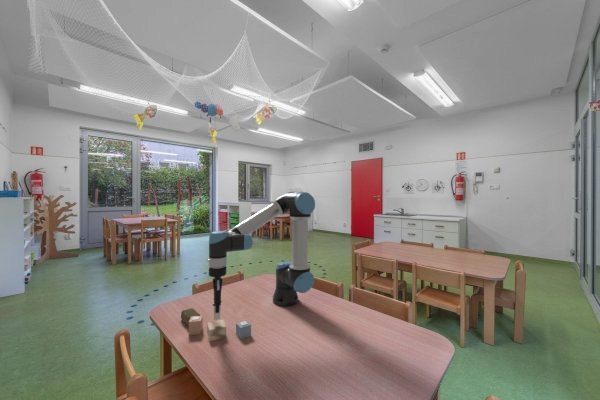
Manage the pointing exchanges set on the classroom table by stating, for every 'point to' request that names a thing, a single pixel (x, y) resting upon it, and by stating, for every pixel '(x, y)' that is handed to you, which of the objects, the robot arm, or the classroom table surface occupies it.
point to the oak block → (216, 330)
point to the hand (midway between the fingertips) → (216, 318)
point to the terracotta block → (195, 325)
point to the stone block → (188, 315)
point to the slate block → (243, 329)
